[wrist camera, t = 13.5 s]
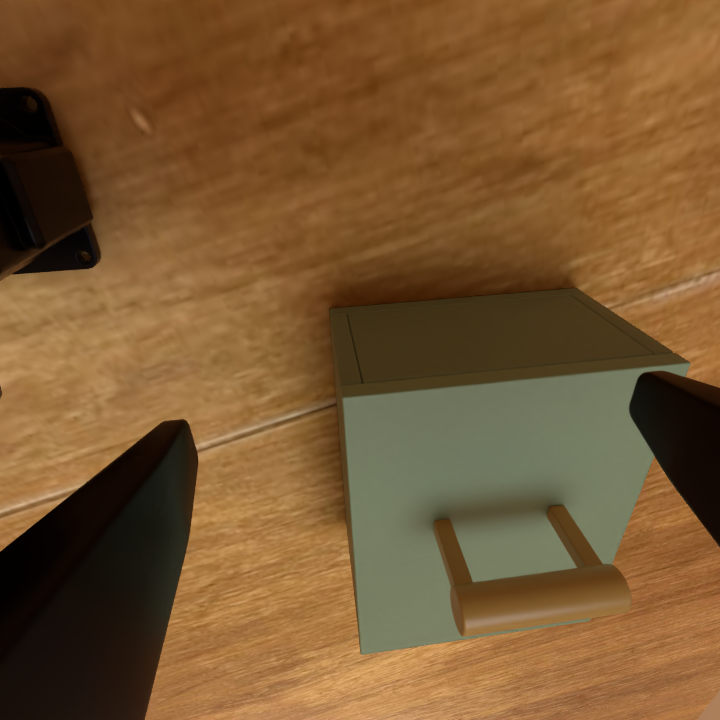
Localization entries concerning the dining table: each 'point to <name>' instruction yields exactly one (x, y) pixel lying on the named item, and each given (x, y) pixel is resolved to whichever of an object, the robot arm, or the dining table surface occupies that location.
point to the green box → (473, 341)
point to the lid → (492, 498)
